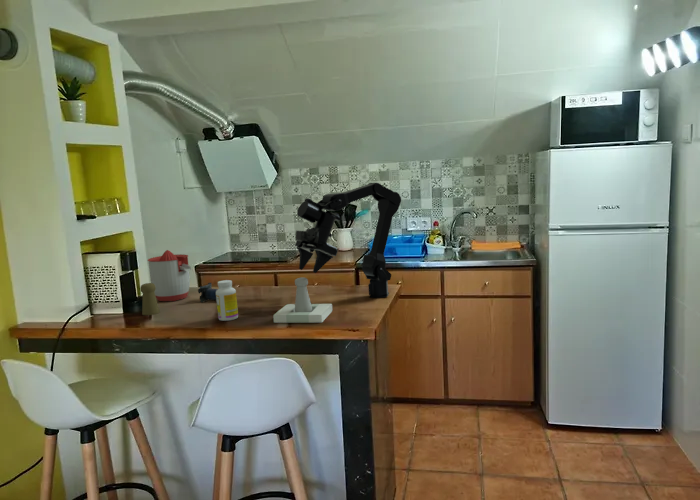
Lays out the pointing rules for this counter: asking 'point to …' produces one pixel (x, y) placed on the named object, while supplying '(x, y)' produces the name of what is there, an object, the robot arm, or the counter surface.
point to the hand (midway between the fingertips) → (307, 270)
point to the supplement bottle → (226, 301)
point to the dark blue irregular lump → (207, 292)
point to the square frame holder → (302, 314)
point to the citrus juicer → (170, 276)
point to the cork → (149, 299)
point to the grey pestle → (302, 296)
